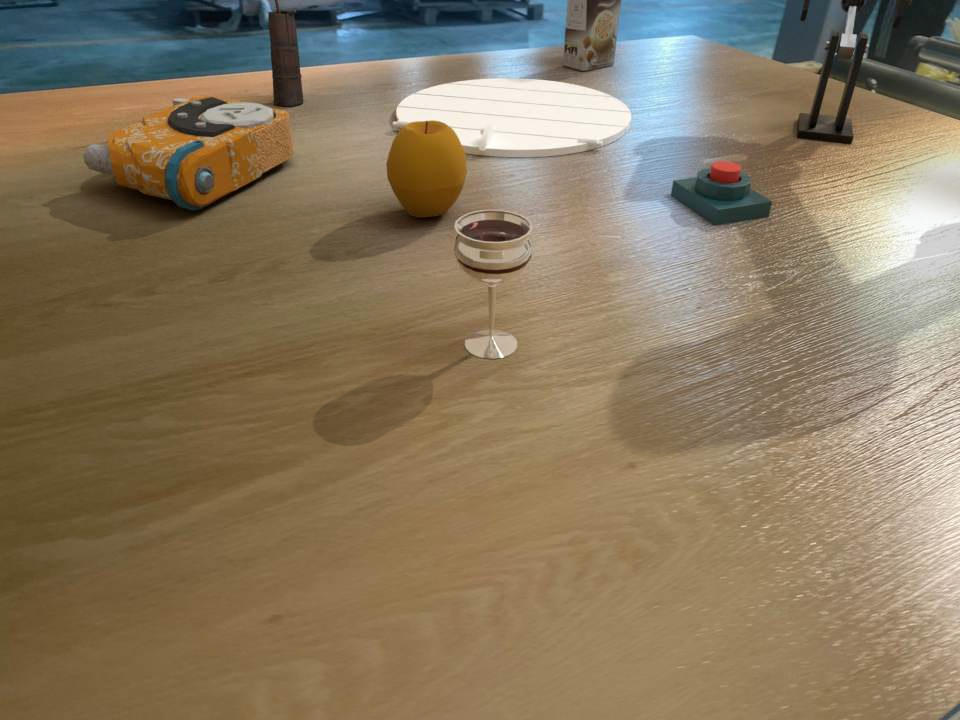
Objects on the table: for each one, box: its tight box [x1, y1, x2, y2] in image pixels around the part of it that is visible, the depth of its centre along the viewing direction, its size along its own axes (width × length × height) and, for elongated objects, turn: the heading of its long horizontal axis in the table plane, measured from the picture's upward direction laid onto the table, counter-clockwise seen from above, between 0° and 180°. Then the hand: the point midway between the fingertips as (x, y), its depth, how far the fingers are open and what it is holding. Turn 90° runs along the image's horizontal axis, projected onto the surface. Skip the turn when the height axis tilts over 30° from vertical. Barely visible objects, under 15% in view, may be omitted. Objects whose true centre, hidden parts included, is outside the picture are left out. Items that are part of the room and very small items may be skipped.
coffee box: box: [562, 0, 622, 72], centre depth 152 cm, size 9×6×16 cm
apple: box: [386, 120, 468, 218], centre depth 92 cm, size 10×10×12 cm
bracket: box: [796, 29, 870, 145], centre depth 119 cm, size 10×8×15 cm
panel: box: [670, 167, 773, 227], centre depth 97 cm, size 10×8×4 cm
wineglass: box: [453, 209, 533, 360], centre depth 68 cm, size 7×7×12 cm
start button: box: [709, 160, 742, 184], centre depth 95 cm, size 4×4×2 cm
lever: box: [835, 0, 867, 61], centre depth 118 cm, size 13×4×4 cm, turn 160°
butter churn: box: [267, 0, 305, 107], centre depth 126 cm, size 9×10×28 cm
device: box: [83, 94, 295, 211], centre depth 105 cm, size 23×8×30 cm
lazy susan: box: [392, 77, 632, 158], centre depth 127 cm, size 40×39×3 cm
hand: (849, 19), depth 119 cm, fingers open, 13 cm apart
